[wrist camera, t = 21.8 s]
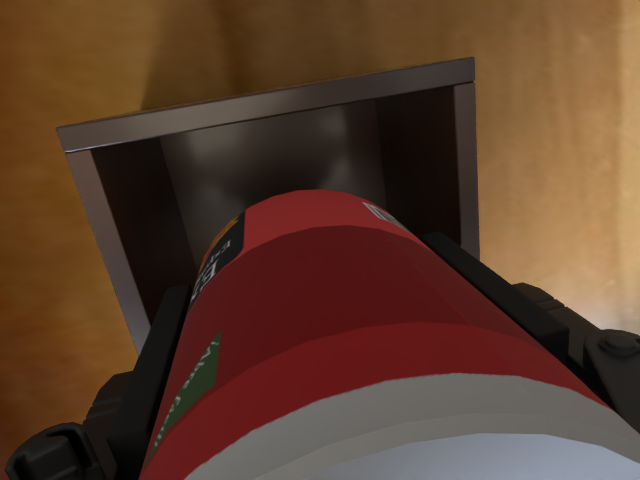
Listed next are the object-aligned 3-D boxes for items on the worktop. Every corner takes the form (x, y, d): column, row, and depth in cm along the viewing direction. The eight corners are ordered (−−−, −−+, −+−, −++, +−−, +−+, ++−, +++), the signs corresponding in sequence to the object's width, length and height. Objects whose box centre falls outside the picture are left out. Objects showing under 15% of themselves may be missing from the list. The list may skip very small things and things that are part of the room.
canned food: (186, 187, 14) (2, 472, 4) (423, 178, 15) (807, 371, 5) (208, 385, 16) (141, 885, 6) (410, 364, 17) (639, 756, 7)
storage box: (138, 110, 23) (54, 127, 13) (381, 69, 24) (475, 56, 14) (202, 326, 28) (176, 459, 18) (402, 282, 29) (484, 384, 19)
